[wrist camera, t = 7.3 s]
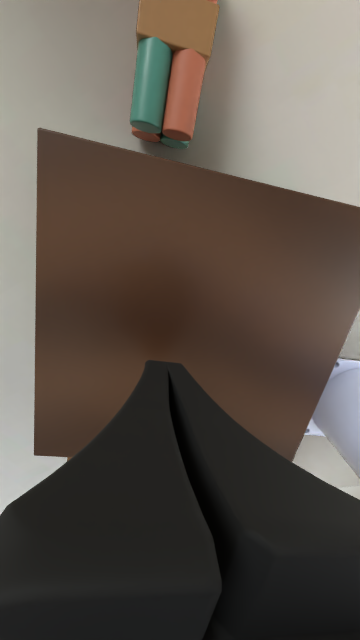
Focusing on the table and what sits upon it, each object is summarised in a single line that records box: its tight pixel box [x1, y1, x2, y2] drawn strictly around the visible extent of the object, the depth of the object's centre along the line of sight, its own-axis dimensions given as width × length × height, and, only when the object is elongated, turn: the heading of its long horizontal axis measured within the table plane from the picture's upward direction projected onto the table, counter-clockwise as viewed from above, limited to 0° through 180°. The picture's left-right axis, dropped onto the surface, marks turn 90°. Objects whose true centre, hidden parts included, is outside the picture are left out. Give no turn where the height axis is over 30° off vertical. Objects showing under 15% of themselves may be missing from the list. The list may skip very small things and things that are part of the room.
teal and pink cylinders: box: [130, 0, 219, 149], centre depth 13 cm, size 8×3×3 cm, turn 169°
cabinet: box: [34, 128, 360, 462], centre depth 15 cm, size 14×14×8 cm
